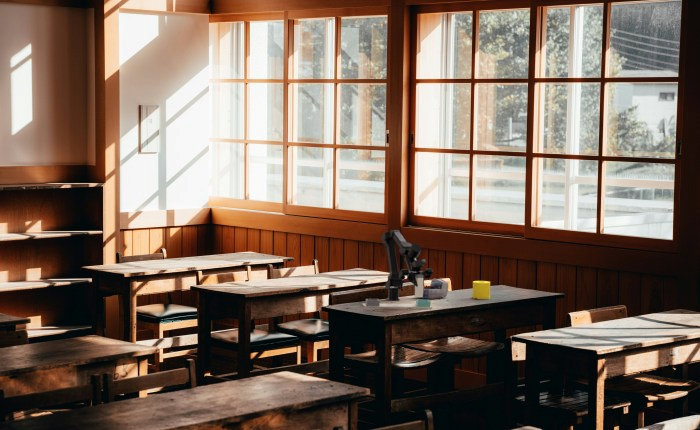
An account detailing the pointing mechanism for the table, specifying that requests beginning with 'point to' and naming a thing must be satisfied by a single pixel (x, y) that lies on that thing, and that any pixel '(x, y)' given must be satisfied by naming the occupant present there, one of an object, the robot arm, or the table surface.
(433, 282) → the grey armchair
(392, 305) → the panel
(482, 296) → the yellow cube
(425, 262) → the robot arm
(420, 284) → the plug
